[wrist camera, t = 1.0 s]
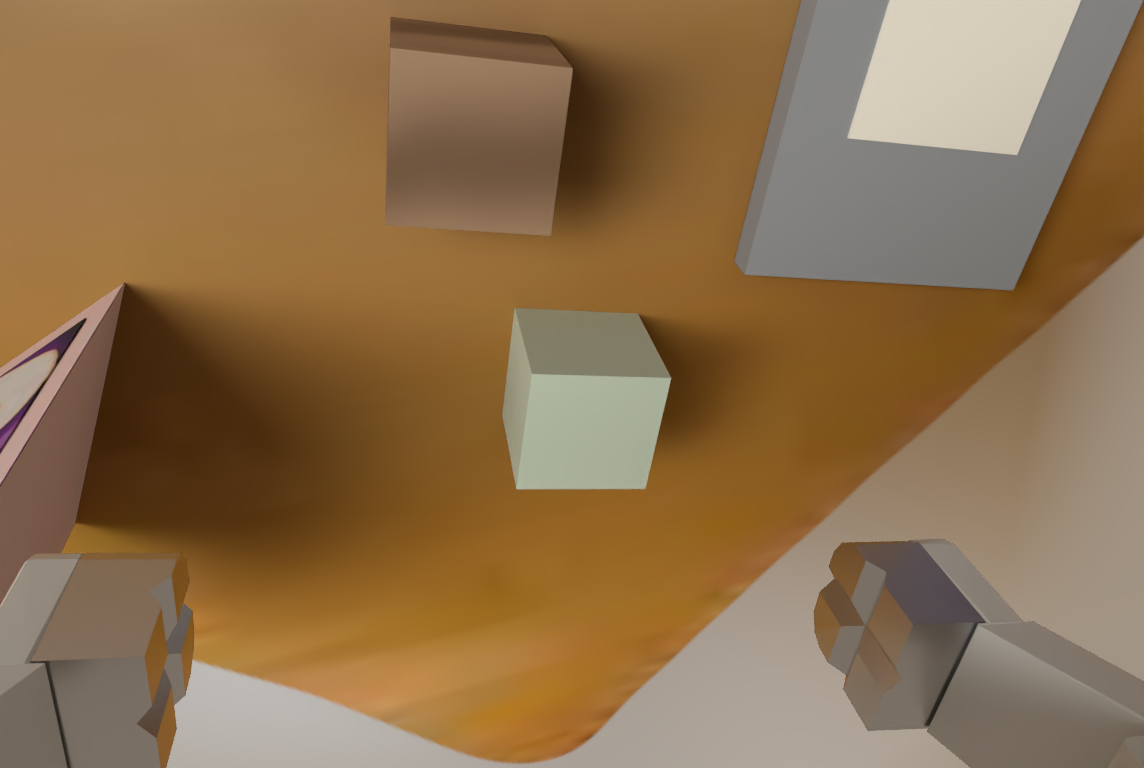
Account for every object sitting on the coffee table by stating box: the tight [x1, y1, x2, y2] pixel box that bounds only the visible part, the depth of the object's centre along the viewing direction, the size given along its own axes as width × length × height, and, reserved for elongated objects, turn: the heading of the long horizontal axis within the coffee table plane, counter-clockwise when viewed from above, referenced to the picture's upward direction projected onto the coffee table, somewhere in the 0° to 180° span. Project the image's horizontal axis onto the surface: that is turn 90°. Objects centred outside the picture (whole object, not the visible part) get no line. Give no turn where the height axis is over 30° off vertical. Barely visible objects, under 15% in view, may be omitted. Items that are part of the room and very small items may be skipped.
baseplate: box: [734, 0, 1143, 290], centre depth 30 cm, size 18×12×1 cm, turn 172°
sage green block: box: [502, 308, 671, 489], centre depth 33 cm, size 5×5×5 cm
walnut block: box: [386, 17, 573, 236], centre depth 26 cm, size 5×5×5 cm
